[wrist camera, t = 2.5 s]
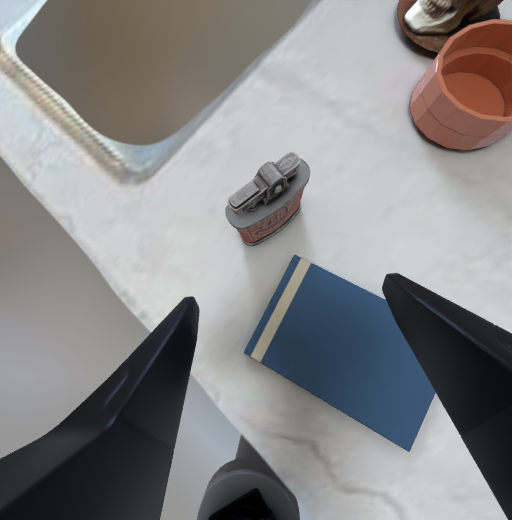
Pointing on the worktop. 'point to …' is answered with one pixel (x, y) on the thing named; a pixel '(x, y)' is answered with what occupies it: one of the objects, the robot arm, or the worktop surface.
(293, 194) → the vintage table igniter
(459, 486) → the worktop surface
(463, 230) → the worktop surface
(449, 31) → the skull
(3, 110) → the worktop surface
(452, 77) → the bowl
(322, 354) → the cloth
